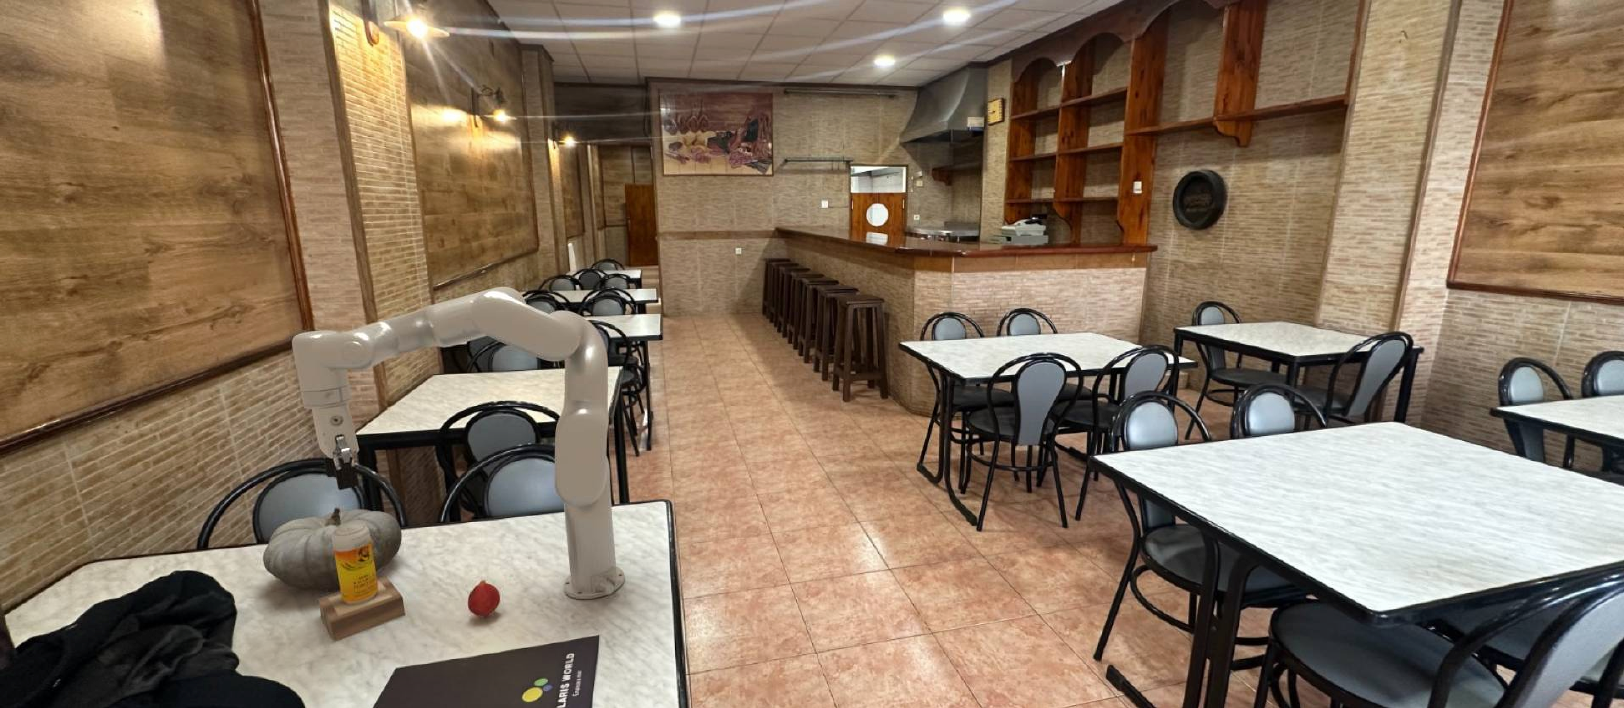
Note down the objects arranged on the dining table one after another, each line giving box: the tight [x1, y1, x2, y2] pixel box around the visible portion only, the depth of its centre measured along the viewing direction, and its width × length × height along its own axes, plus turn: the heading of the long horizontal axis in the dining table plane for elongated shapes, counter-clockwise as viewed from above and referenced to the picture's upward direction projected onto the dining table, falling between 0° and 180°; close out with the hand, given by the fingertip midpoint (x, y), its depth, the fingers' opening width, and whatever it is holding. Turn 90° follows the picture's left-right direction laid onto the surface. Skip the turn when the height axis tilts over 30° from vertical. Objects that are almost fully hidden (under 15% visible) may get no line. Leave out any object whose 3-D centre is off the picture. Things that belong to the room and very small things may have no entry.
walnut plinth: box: [317, 575, 406, 643], centre depth 134 cm, size 12×12×4 cm
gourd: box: [262, 506, 403, 592], centre depth 148 cm, size 25×25×17 cm
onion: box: [467, 579, 501, 618], centre depth 133 cm, size 6×6×8 cm
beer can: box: [332, 523, 378, 604], centre depth 133 cm, size 6×6×15 cm
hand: (342, 481), depth 129 cm, fingers open, 9 cm apart
